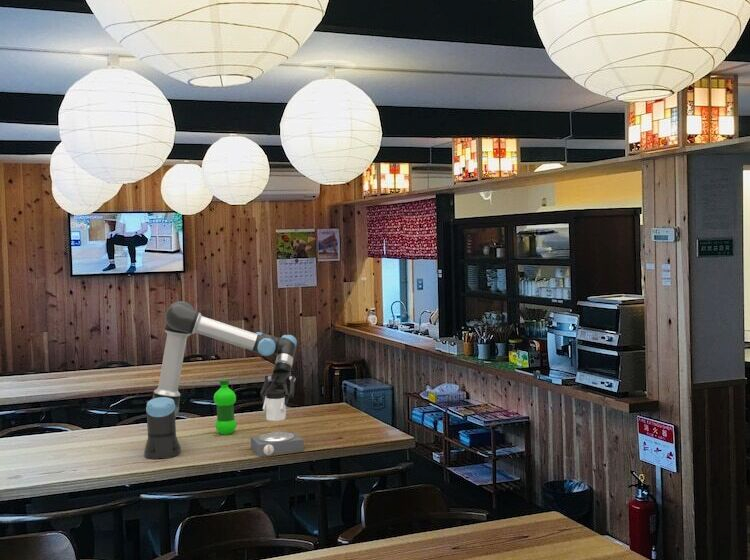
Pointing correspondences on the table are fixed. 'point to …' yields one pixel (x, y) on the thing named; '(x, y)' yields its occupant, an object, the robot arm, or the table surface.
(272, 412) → the jar
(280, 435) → the scale pan
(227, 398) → the plastic bottle
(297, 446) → the scale body
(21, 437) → the table surface
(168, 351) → the robot arm
